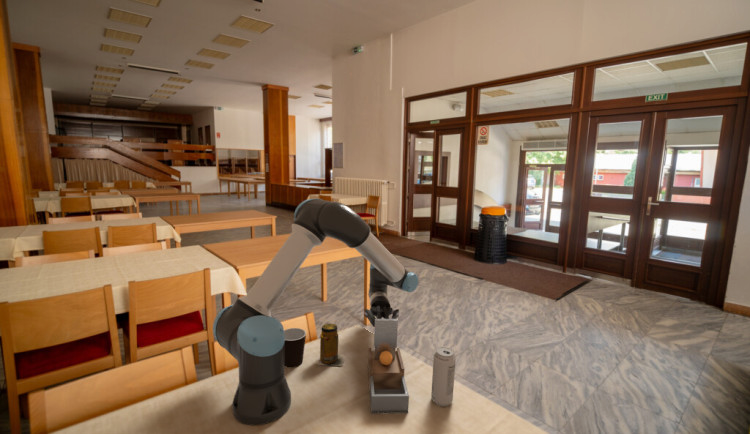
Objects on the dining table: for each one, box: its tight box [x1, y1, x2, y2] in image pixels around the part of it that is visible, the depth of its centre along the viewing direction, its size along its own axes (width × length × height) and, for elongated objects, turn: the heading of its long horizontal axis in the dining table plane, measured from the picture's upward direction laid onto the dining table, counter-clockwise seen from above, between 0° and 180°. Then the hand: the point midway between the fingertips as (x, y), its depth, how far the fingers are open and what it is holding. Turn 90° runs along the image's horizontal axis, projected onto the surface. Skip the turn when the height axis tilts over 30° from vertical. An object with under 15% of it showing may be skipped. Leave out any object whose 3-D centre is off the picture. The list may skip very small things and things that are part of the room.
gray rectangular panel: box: [373, 318, 399, 359], centre depth 107 cm, size 7×1×13 cm, turn 94°
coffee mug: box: [284, 327, 307, 369], centre depth 116 cm, size 12×9×10 cm
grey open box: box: [369, 375, 410, 414], centre depth 97 cm, size 10×9×5 cm
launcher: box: [367, 347, 405, 392], centre depth 107 cm, size 10×12×7 cm
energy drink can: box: [430, 346, 457, 407], centre depth 98 cm, size 6×6×15 cm
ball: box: [379, 351, 393, 365], centre depth 105 cm, size 4×4×4 cm
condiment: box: [316, 323, 346, 367], centre depth 116 cm, size 7×8×12 cm
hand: (385, 333), depth 110 cm, fingers closed
